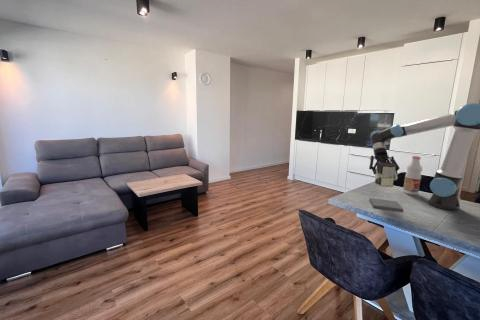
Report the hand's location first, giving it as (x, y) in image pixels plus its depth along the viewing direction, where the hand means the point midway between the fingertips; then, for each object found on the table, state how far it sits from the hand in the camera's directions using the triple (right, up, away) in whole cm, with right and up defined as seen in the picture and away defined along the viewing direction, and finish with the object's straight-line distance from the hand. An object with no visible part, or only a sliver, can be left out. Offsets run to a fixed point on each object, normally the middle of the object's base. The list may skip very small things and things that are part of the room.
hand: (386, 178), depth 147 cm
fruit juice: (+36, -13, +29) cm, 48 cm away
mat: (+1, -18, +3) cm, 18 cm away
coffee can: (0, -5, +4) cm, 6 cm away
